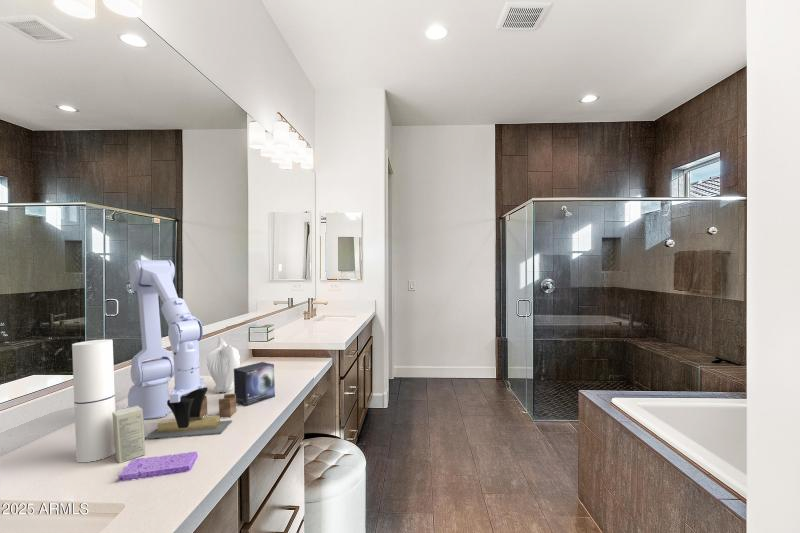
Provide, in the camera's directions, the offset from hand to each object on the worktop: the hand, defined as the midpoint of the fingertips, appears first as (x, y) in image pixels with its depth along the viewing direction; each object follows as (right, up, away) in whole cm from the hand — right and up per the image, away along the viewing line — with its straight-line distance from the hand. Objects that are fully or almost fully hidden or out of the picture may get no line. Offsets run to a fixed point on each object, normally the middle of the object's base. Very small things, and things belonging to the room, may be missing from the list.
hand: (189, 422), depth 101 cm
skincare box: (-6, -2, -13) cm, 15 cm away
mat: (0, -2, 0) cm, 2 cm away
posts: (+1, -2, +10) cm, 10 cm away
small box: (+8, -2, +23) cm, 24 cm away
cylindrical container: (-14, -3, -12) cm, 19 cm away
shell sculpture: (-5, -3, +34) cm, 34 cm away
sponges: (+5, -2, -20) cm, 21 cm away
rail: (0, -2, 0) cm, 2 cm away
